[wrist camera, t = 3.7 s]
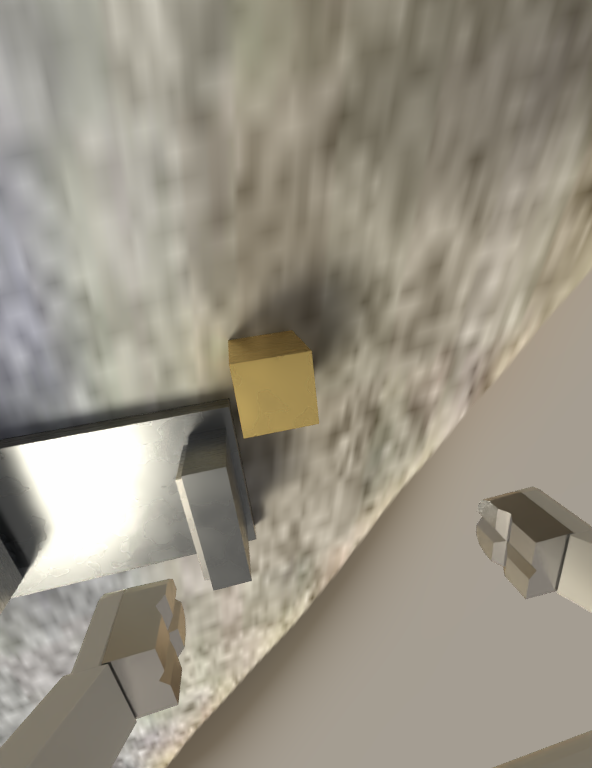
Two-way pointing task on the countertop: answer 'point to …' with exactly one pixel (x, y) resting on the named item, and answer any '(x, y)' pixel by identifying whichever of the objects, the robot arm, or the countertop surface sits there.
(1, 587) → the jaw
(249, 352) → the block
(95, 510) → the vise
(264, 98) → the countertop surface
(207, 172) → the countertop surface
